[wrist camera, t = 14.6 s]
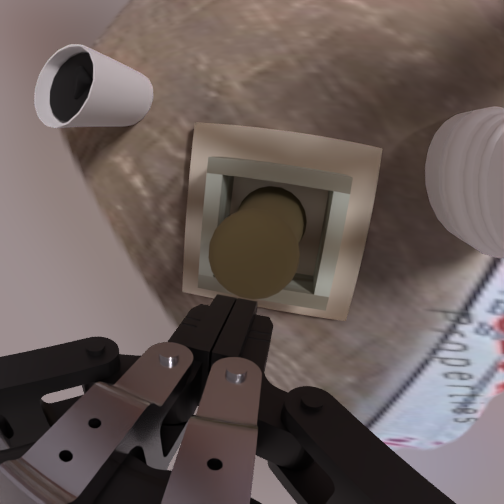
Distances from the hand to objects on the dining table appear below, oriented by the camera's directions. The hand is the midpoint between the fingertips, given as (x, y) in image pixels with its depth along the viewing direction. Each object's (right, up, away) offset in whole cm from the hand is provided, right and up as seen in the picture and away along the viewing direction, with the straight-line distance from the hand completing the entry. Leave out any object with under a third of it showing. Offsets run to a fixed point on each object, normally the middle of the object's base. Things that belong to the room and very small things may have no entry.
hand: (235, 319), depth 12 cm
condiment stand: (+3, +5, +16) cm, 17 cm away
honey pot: (+22, +10, +12) cm, 27 cm away
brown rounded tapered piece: (+2, +5, +15) cm, 16 cm away
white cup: (-12, +18, +15) cm, 26 cm away
